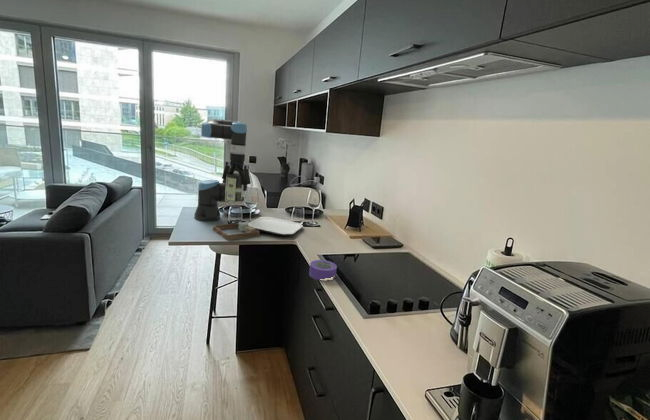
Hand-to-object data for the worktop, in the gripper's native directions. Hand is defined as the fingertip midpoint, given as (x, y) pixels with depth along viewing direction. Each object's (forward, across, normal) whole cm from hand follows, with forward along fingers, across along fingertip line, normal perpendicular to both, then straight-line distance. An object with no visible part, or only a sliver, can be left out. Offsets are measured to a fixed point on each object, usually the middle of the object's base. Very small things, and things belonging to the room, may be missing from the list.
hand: (235, 194), depth 182 cm
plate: (+22, +12, +24) cm, 34 cm away
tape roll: (+22, +63, -15) cm, 69 cm away
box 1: (+22, 0, +9) cm, 24 cm away
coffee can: (+4, 0, 0) cm, 4 cm away
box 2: (+22, +7, +5) cm, 24 cm away
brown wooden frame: (+22, +1, +2) cm, 22 cm away
